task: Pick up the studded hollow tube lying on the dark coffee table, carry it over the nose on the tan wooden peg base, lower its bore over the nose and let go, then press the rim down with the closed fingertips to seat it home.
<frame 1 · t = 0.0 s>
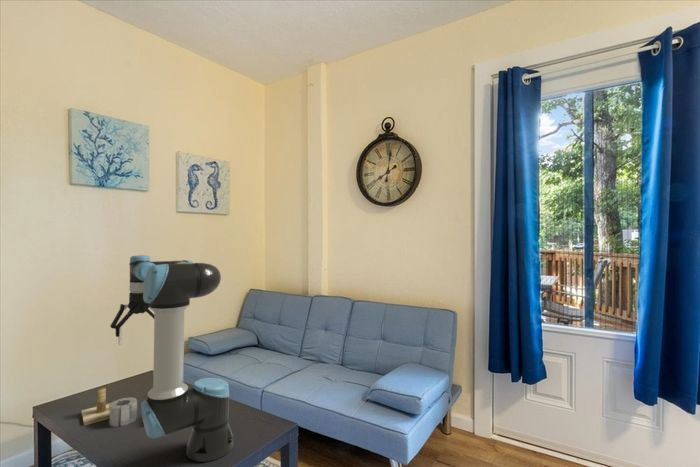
hand: (138, 341, 150), 28 cm above the table, fingers open, 13 cm apart
studded hollow tube: (123, 420, 138), on the table
tan wooden peg base: (101, 414, 143), on the table
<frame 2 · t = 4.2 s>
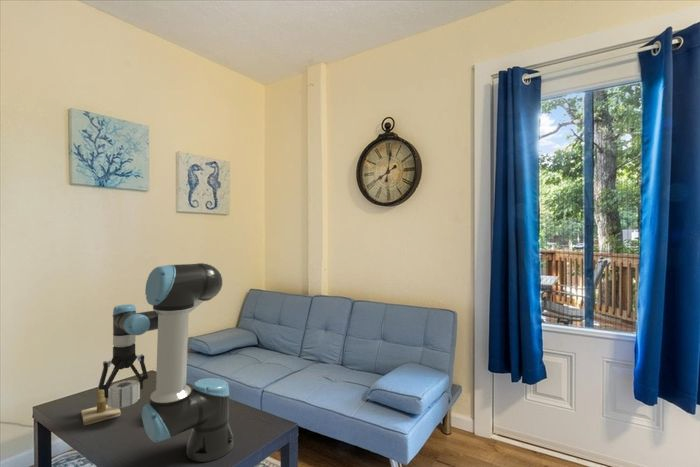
hand: (123, 401, 138), 8 cm above the table, fingers closed on studded hollow tube, 9 cm apart
studded hollow tube: (124, 402, 138), point 7 cm above the table, touching gripper
everything else where it was.
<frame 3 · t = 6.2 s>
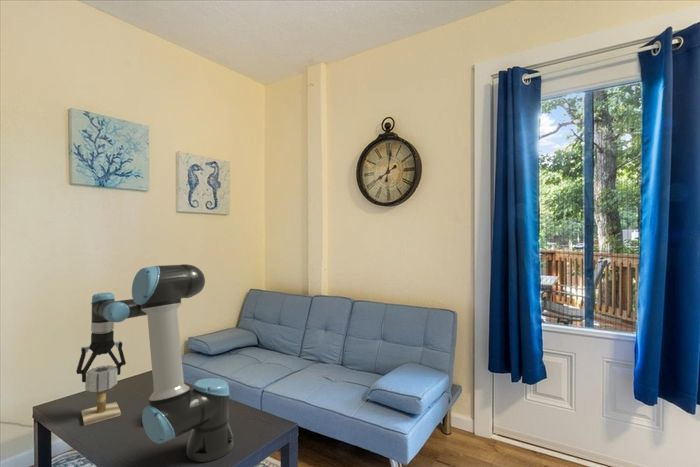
hand: (101, 386, 143), 12 cm above the table, fingers closed on studded hollow tube, 9 cm apart
studded hollow tube: (101, 386, 143), point 11 cm above the table, touching gripper
everything else where it was.
when the fingers open (3 cm above the table, at t = 8.6 s): studded hollow tube drops 1 cm, resting on tan wooden peg base.
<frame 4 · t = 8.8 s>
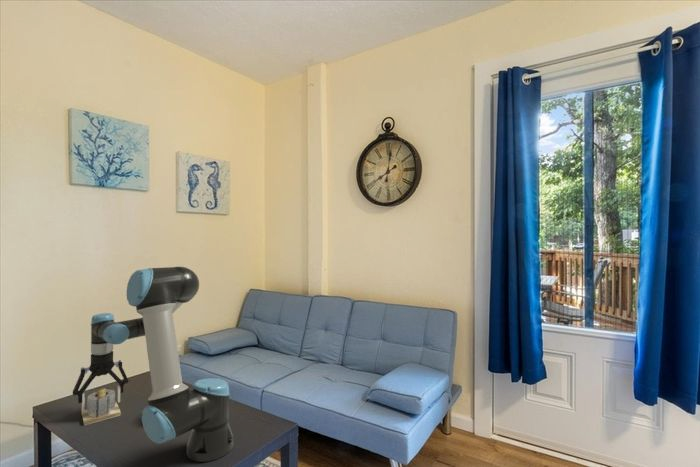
hand: (101, 405, 143), 4 cm above the table, fingers open, 11 cm apart
studded hollow tube: (101, 411, 143), point 1 cm above the table, touching tan wooden peg base
everything else where it was.
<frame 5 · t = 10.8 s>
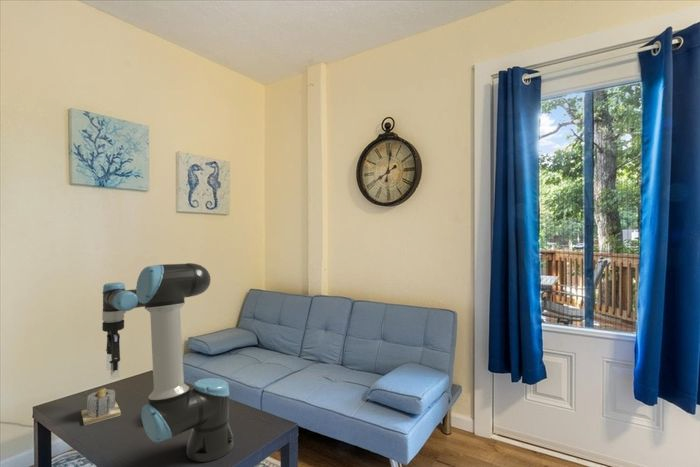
hand: (112, 373, 145), 16 cm above the table, fingers open, 10 cm apart
nothing on the table moved.
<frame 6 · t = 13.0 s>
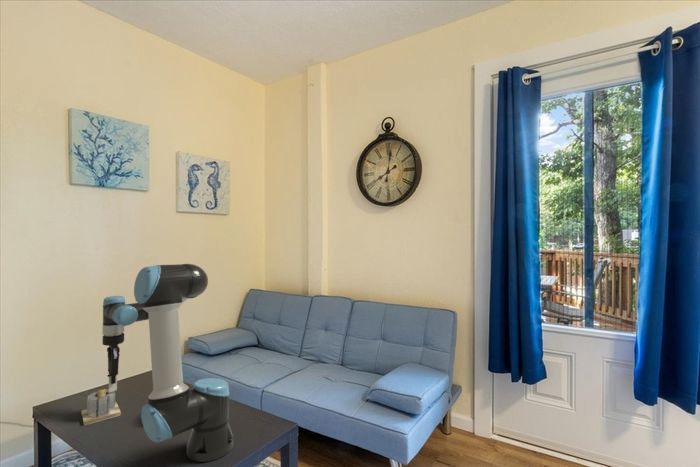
hand: (112, 390, 145), 9 cm above the table, fingers closed
nothing on the table moved.
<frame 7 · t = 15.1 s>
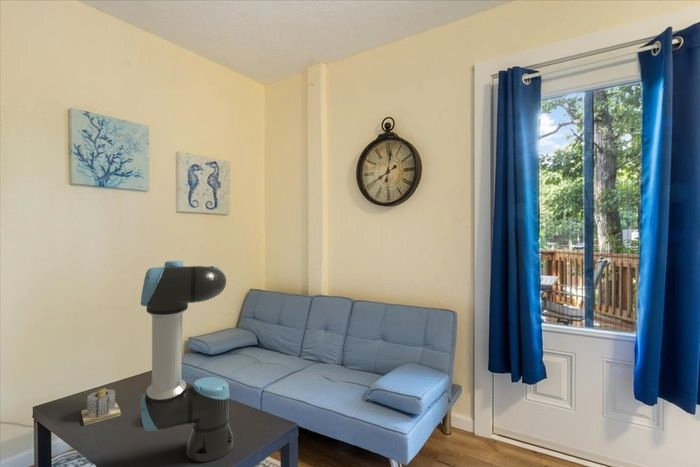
hand: (172, 349, 154), 23 cm above the table, fingers closed
nothing on the table moved.
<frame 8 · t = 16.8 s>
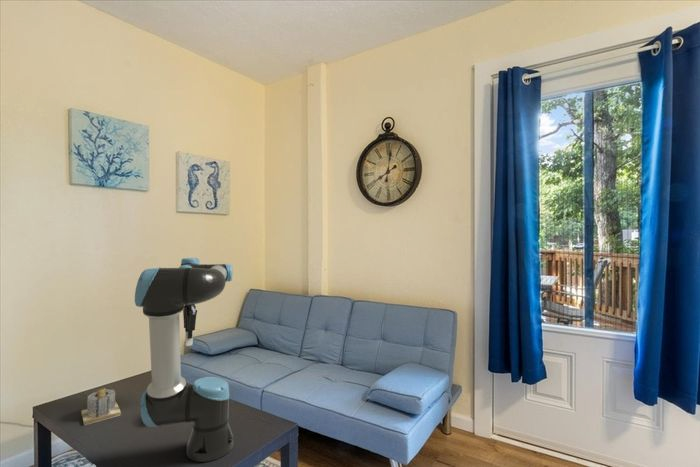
hand: (189, 345, 156), 24 cm above the table, fingers closed
nothing on the table moved.
at the end: studded hollow tube 0.1 cm off-centre on the tan wooden peg base, point 1.2 cm above the tan wooden peg base's base; the gripper is holding nothing; studded hollow tube tilted 0° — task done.
